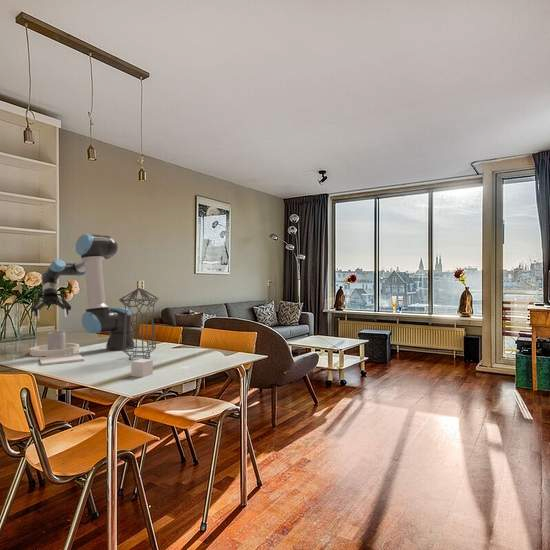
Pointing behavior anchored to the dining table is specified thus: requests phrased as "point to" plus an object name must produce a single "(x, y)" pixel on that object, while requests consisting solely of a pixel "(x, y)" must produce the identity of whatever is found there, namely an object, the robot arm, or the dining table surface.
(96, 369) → the dining table surface
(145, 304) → the geometric lantern
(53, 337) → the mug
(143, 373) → the pale pink cube
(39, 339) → the dining table surface
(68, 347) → the white plate
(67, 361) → the mat
